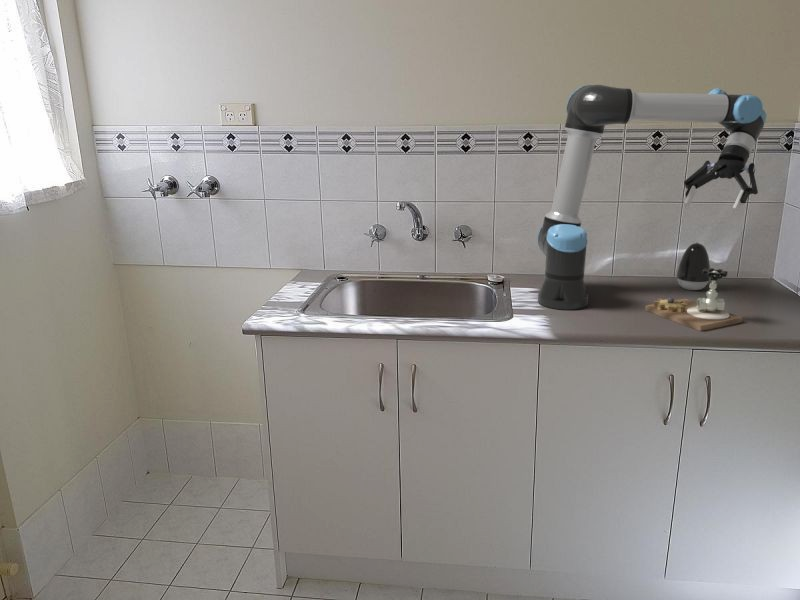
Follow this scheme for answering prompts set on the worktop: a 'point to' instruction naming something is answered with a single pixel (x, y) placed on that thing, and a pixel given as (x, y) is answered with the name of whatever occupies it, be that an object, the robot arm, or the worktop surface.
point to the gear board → (691, 314)
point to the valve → (712, 292)
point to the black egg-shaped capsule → (693, 268)
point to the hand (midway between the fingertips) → (709, 208)
